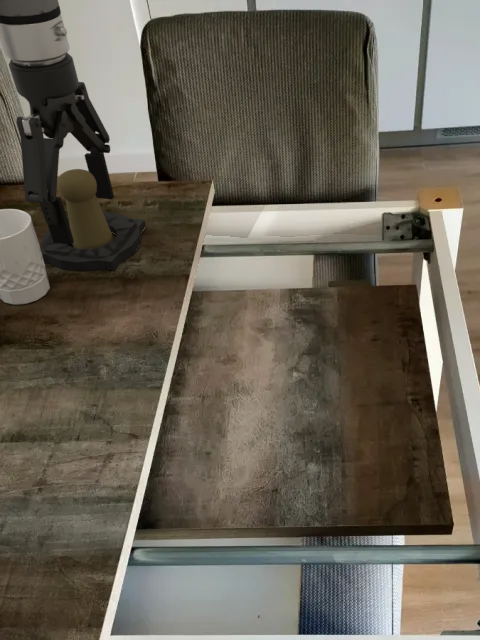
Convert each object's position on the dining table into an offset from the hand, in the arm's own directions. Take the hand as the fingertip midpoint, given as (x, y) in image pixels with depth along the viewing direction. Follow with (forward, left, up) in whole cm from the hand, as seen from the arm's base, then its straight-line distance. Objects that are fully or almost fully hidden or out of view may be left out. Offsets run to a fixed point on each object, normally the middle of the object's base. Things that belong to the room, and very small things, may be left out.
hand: (85, 219), depth 95 cm
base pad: (0, 0, -4) cm, 4 cm away
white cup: (-4, -13, -4) cm, 14 cm away
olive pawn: (0, 0, -4) cm, 4 cm away
